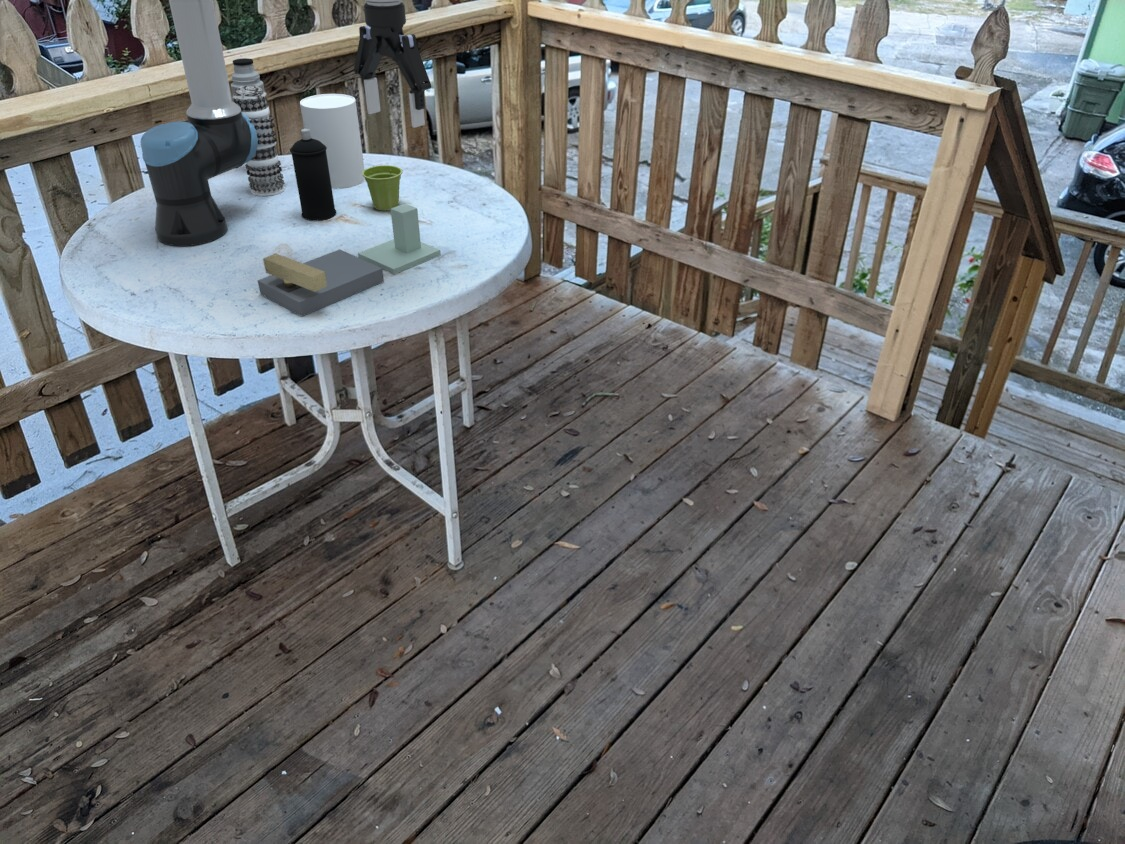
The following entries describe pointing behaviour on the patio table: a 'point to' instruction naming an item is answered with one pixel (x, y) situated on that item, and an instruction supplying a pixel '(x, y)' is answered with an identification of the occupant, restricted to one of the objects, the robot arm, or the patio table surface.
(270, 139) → the decorative candle
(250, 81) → the thermos bottle
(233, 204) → the patio table surface
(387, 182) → the plant pot
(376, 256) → the cover
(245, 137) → the robot arm
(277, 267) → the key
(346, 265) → the plate
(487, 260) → the patio table surface
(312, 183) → the aerosol can
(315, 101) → the canister
